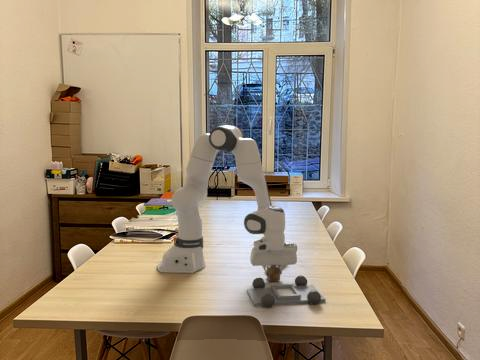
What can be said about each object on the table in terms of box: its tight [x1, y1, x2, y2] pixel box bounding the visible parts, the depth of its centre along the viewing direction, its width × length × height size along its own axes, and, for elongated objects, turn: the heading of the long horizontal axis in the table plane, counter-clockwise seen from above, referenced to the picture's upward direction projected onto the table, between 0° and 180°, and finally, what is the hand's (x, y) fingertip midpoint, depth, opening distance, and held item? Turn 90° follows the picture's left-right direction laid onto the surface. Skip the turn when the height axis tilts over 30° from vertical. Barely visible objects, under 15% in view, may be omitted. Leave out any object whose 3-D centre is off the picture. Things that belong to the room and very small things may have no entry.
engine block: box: [265, 265, 281, 282], centre depth 184 cm, size 4×6×6 cm
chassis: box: [246, 275, 326, 308], centre depth 167 cm, size 28×17×5 cm, turn 100°
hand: (273, 274), depth 184 cm, fingers closed on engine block, 4 cm apart
